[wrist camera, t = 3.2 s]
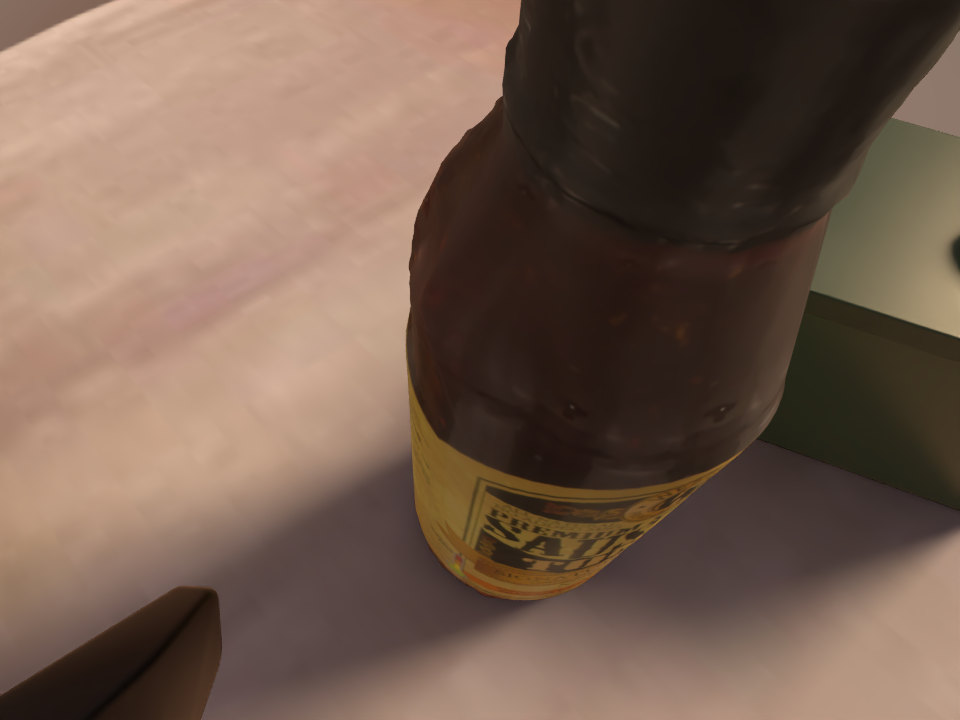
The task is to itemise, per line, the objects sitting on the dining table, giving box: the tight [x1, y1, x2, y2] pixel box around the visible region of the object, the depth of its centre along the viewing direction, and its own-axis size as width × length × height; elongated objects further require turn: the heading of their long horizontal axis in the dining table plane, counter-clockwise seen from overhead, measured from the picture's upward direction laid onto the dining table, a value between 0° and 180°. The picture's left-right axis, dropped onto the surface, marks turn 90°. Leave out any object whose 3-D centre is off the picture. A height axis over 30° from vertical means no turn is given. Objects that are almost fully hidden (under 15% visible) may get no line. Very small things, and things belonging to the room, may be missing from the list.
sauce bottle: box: [406, 0, 960, 600], centre depth 12 cm, size 6×6×20 cm
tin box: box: [757, 118, 960, 510], centre depth 19 cm, size 6×10×9 cm, turn 69°
